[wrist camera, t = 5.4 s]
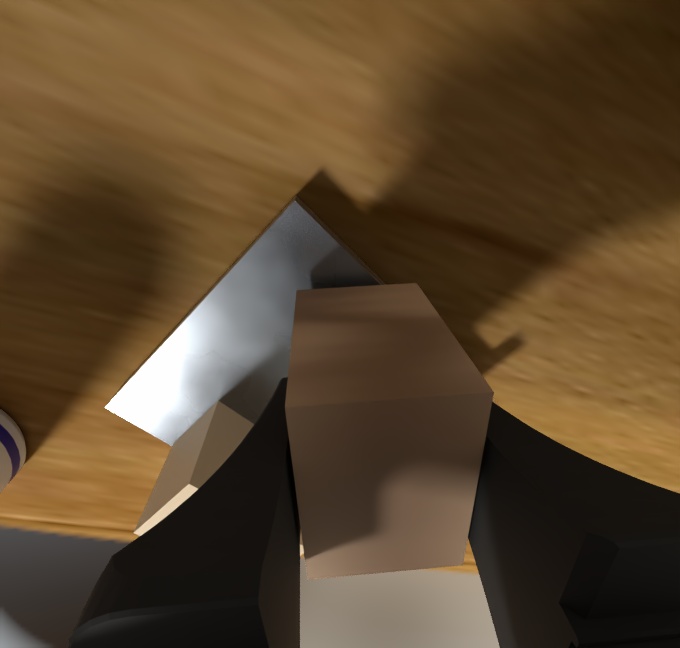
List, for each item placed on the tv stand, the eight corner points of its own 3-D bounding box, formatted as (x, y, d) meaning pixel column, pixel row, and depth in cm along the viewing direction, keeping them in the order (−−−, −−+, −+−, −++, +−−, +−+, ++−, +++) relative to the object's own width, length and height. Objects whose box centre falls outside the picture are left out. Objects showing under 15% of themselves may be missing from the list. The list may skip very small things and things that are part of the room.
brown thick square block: (309, 423, 15) (308, 583, 10) (296, 290, 12) (285, 407, 7) (409, 416, 15) (461, 569, 10) (416, 282, 13) (493, 392, 7)
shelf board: (118, 389, 16) (88, 429, 14) (296, 194, 13) (293, 206, 11) (309, 504, 20) (309, 549, 18) (479, 376, 17) (503, 412, 15)
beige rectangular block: (173, 442, 16) (133, 532, 12) (218, 400, 15) (188, 483, 11) (269, 498, 18) (258, 590, 14) (313, 463, 17) (313, 551, 13)
